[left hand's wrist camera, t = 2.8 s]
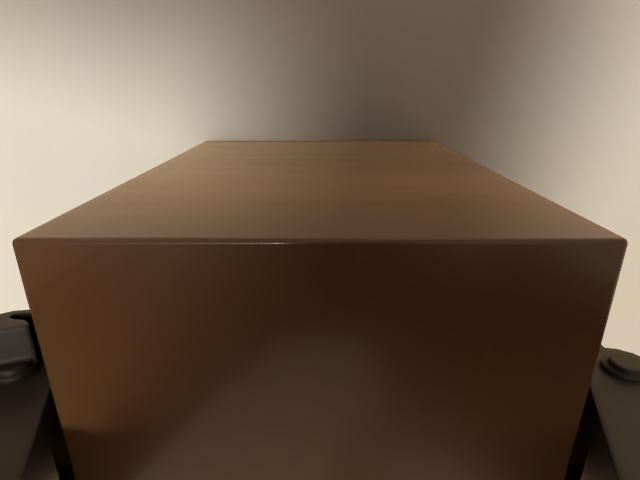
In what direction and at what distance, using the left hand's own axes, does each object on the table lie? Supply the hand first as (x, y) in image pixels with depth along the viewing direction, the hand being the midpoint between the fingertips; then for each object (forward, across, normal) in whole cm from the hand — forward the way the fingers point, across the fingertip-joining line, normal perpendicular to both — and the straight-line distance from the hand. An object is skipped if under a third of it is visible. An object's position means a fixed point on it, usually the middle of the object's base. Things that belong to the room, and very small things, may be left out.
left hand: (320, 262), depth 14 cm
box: (0, 0, -8) cm, 8 cm away
